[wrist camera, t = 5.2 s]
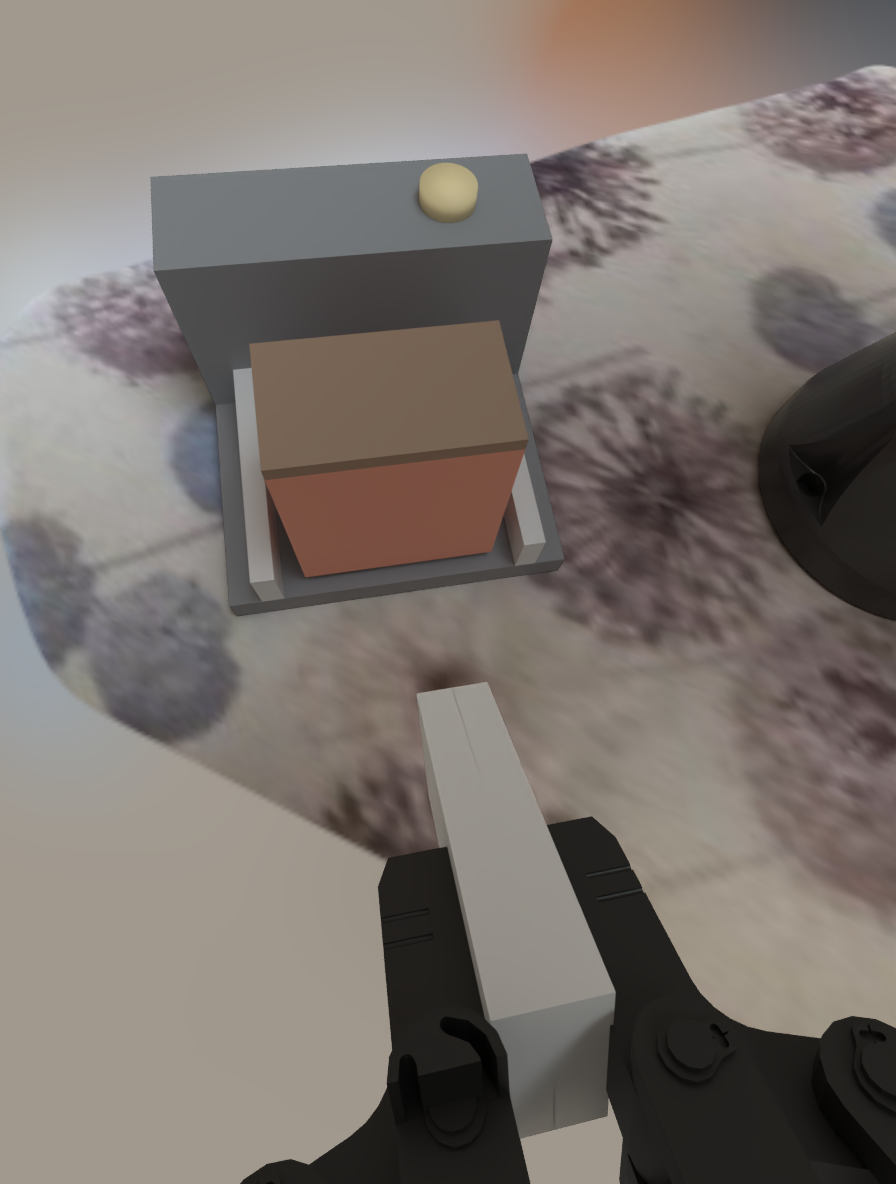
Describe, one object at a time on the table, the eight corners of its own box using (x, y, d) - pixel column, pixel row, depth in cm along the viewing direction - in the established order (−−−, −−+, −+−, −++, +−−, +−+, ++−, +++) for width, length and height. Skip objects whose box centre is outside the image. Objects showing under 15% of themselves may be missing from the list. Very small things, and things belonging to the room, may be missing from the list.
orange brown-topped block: (294, 482, 31) (249, 343, 22) (471, 460, 32) (498, 320, 23) (305, 577, 29) (260, 470, 20) (491, 551, 30) (528, 439, 21)
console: (217, 346, 35) (142, 158, 25) (495, 320, 37) (530, 135, 27) (237, 616, 30) (153, 516, 20) (557, 570, 32) (628, 457, 22)
